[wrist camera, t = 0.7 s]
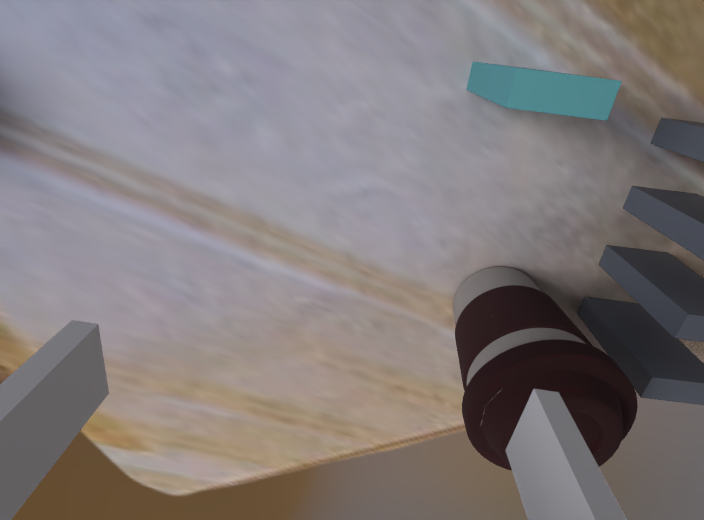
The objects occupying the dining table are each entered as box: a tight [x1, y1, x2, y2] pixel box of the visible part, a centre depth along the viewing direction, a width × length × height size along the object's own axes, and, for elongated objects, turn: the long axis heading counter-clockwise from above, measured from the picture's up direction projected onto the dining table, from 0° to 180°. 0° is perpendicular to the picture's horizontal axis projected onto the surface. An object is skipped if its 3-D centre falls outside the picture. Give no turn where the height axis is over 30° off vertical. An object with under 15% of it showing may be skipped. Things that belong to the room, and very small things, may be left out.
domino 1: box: [467, 62, 622, 121], centre depth 25 cm, size 2×5×10 cm, turn 83°
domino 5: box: [577, 297, 704, 405], centre depth 32 cm, size 2×5×10 cm, turn 83°
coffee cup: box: [453, 267, 637, 470], centre depth 30 cm, size 10×10×15 cm
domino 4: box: [598, 245, 704, 342], centre depth 30 cm, size 2×5×10 cm, turn 84°
